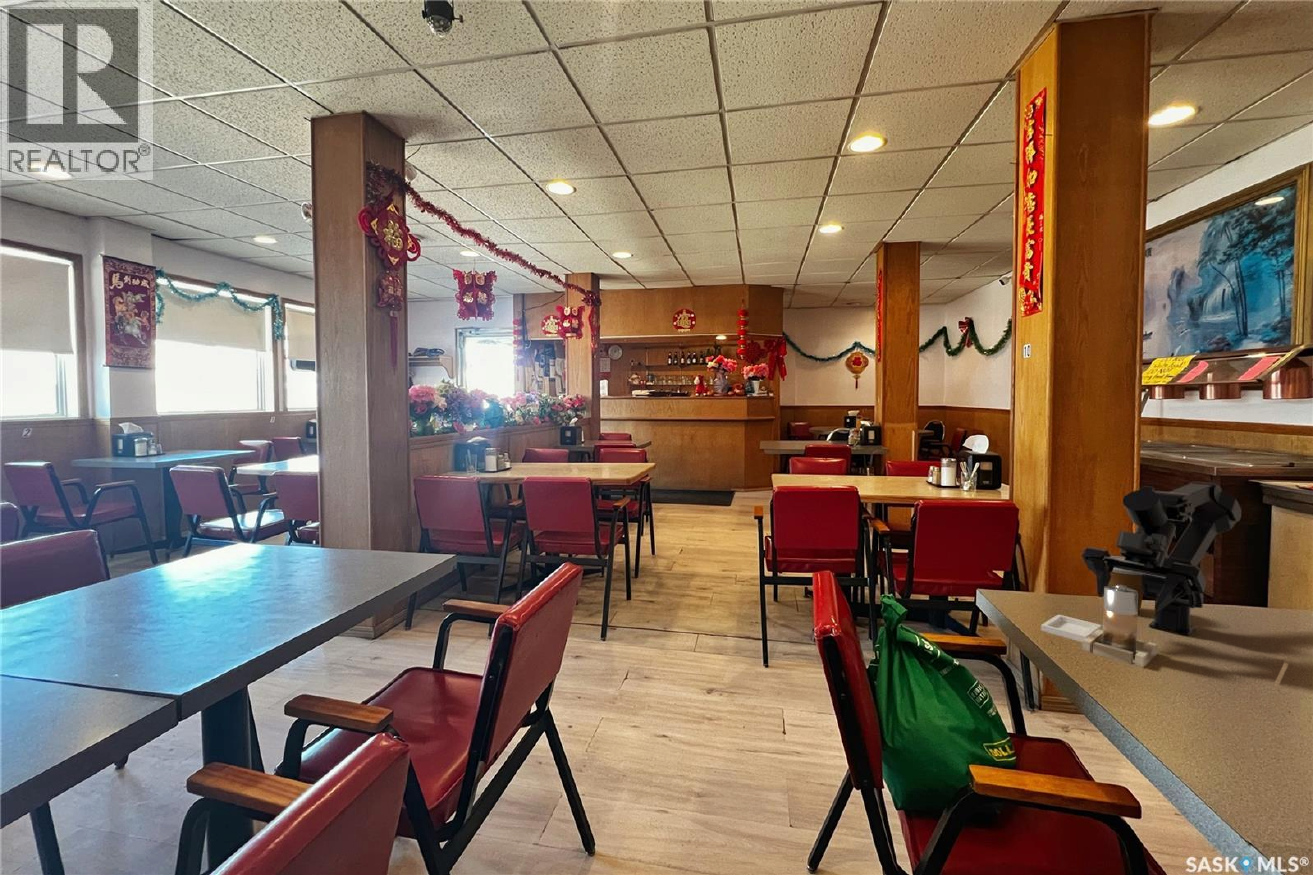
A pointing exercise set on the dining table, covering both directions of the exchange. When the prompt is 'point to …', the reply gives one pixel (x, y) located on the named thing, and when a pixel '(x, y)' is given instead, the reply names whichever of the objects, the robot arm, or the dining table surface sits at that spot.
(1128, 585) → the disposable coffee cup
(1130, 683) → the dining table surface
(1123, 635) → the battery cell
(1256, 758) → the dining table surface
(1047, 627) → the tray
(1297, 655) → the dining table surface
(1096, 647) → the tray
